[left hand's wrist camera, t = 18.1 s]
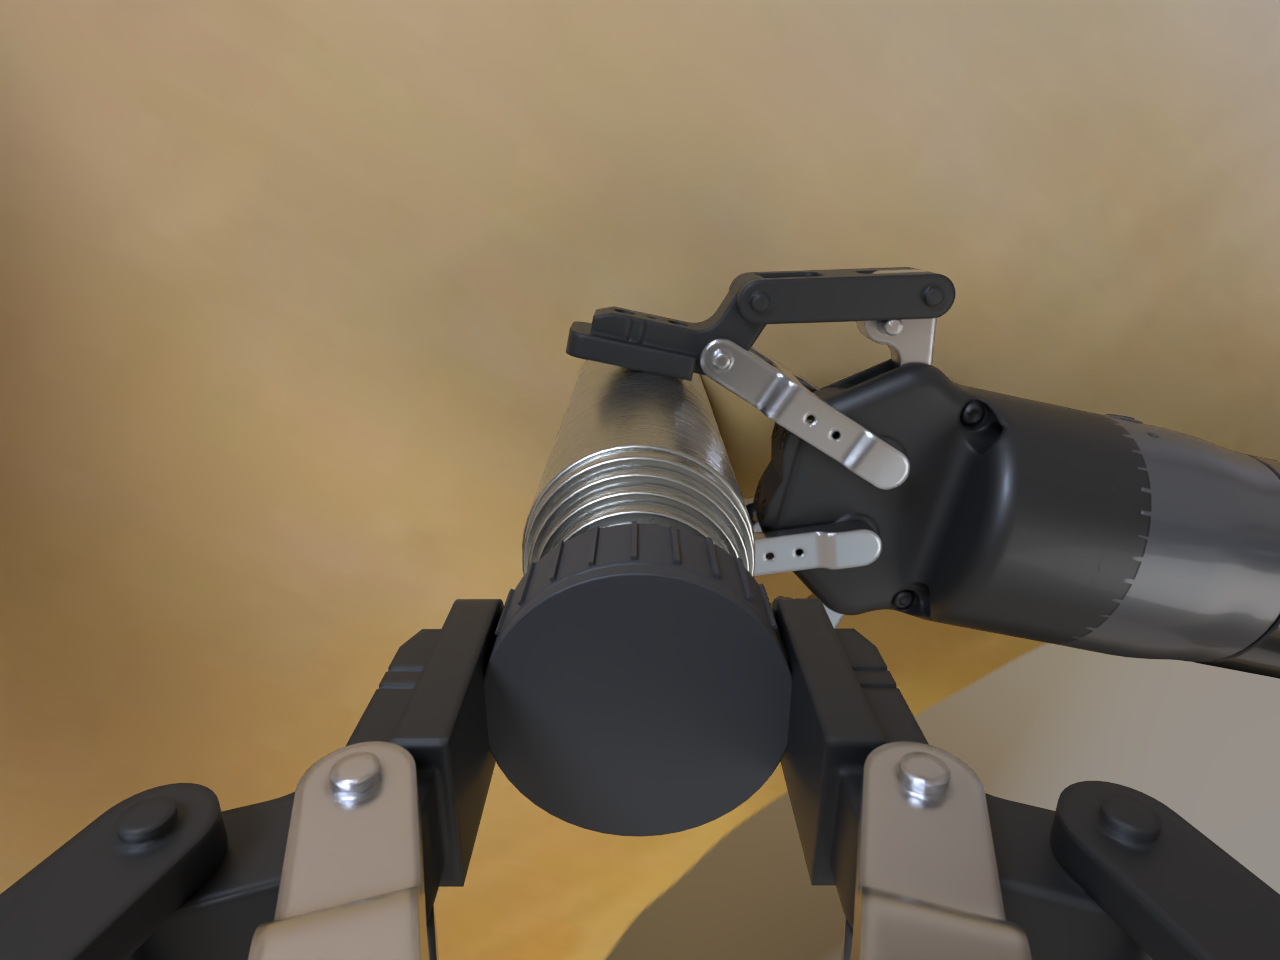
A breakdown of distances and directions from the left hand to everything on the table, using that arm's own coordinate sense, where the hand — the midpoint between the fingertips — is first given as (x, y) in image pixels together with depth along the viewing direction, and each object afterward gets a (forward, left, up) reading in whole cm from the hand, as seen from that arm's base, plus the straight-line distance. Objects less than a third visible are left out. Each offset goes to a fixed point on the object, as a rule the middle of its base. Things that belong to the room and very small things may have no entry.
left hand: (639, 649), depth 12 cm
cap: (0, 0, +1) cm, 1 cm away
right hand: (-1, -3, -12) cm, 12 cm away
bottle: (0, 0, -18) cm, 18 cm away
